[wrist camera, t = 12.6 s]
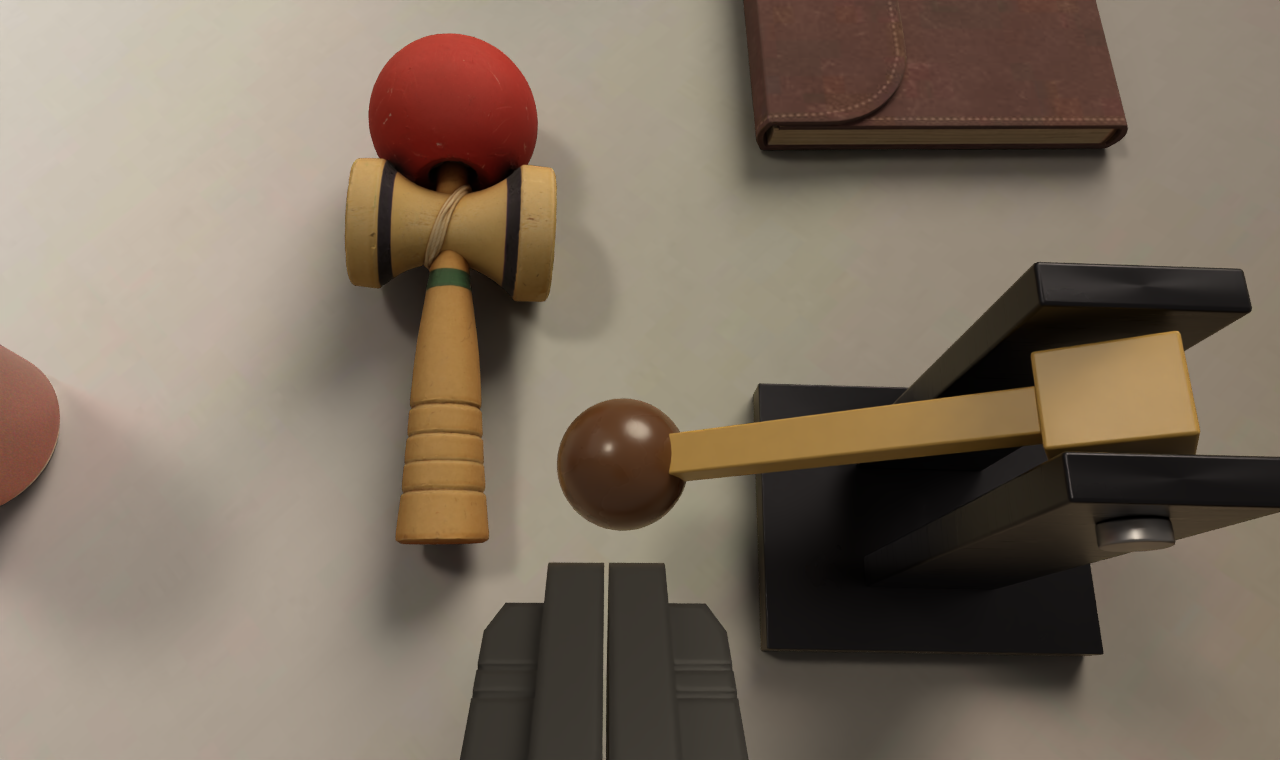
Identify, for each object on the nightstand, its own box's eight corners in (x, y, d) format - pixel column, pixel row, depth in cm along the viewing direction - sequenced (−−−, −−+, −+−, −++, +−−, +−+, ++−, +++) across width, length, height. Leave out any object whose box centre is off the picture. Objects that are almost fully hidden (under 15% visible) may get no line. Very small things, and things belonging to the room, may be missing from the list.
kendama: (587, 541, 32) (578, 79, 36) (545, 537, 26) (539, -21, 29) (380, 548, 33) (391, 97, 36) (292, 546, 27) (316, 4, 30)
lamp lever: (597, 543, 26) (527, 523, 23) (601, 426, 27) (534, 392, 24) (1200, 499, 20) (1210, 463, 17) (1170, 345, 21) (1174, 285, 18)
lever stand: (760, 650, 30) (904, 610, 16) (753, 393, 33) (867, 169, 19) (1085, 656, 30) (1503, 621, 16) (1048, 401, 33) (1375, 188, 19)
